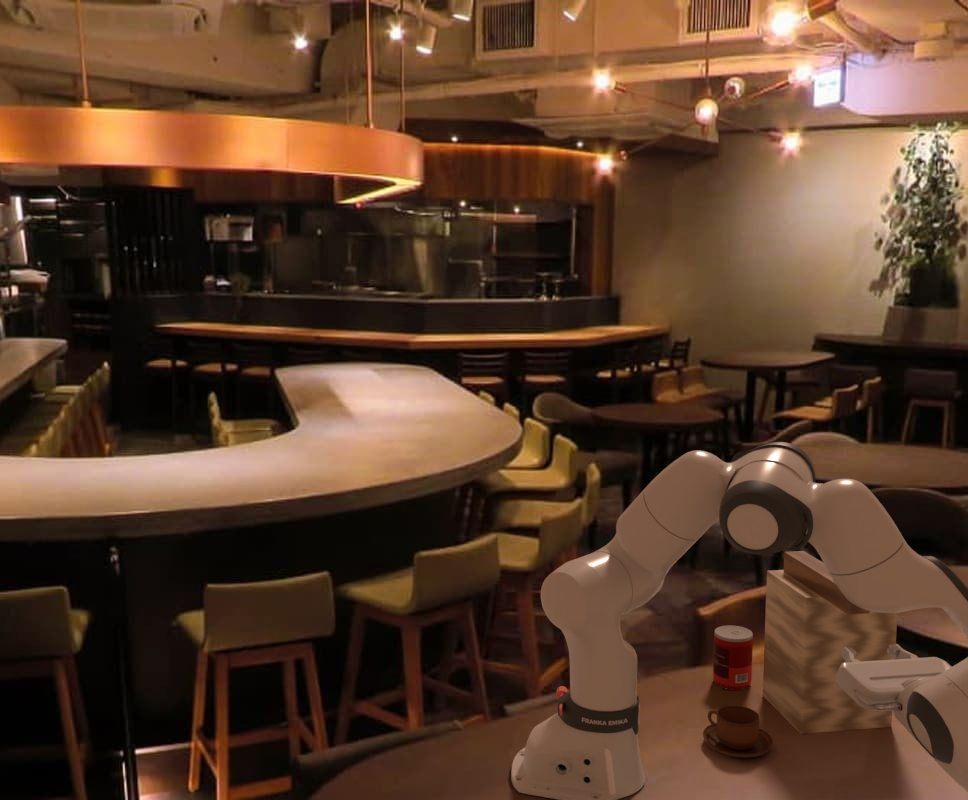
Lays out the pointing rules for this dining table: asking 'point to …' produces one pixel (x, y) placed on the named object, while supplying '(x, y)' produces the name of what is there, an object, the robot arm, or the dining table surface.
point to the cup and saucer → (737, 732)
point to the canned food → (732, 657)
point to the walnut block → (817, 580)
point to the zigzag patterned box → (818, 656)
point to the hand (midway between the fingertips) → (868, 648)
